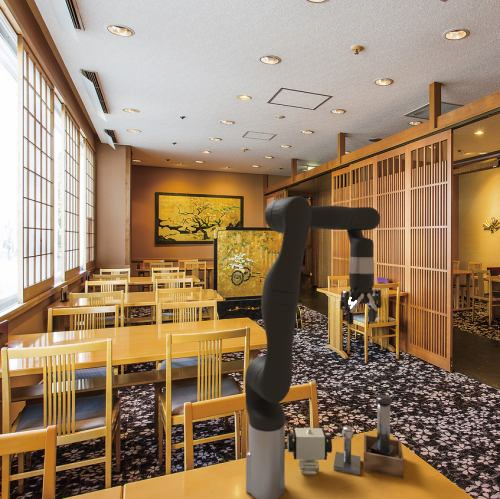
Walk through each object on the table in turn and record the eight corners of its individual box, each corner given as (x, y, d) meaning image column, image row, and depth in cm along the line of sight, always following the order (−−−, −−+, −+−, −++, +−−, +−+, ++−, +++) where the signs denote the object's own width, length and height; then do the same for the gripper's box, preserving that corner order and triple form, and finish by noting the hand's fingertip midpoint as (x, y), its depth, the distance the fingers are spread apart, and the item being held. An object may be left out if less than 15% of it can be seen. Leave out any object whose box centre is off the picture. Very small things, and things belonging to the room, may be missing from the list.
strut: (370, 461, 100) (371, 398, 100) (377, 453, 104) (378, 392, 104) (389, 469, 97) (390, 403, 96) (395, 460, 101) (396, 397, 100)
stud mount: (333, 469, 98) (333, 431, 98) (335, 455, 104) (336, 419, 104) (359, 475, 96) (360, 436, 95) (360, 460, 102) (360, 424, 102)
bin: (363, 470, 98) (363, 452, 97) (364, 450, 107) (364, 434, 107) (403, 478, 94) (403, 460, 94) (400, 457, 104) (400, 440, 104)
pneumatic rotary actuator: (332, 477, 95) (332, 433, 95) (288, 476, 95) (288, 432, 95) (327, 464, 100) (328, 422, 100) (286, 463, 100) (287, 422, 100)
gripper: (370, 270, 117) (370, 318, 117) (335, 271, 111) (335, 322, 111) (387, 271, 110) (387, 323, 110) (351, 273, 104) (350, 327, 104)
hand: (361, 322), depth 111 cm, fingers open, 8 cm apart
